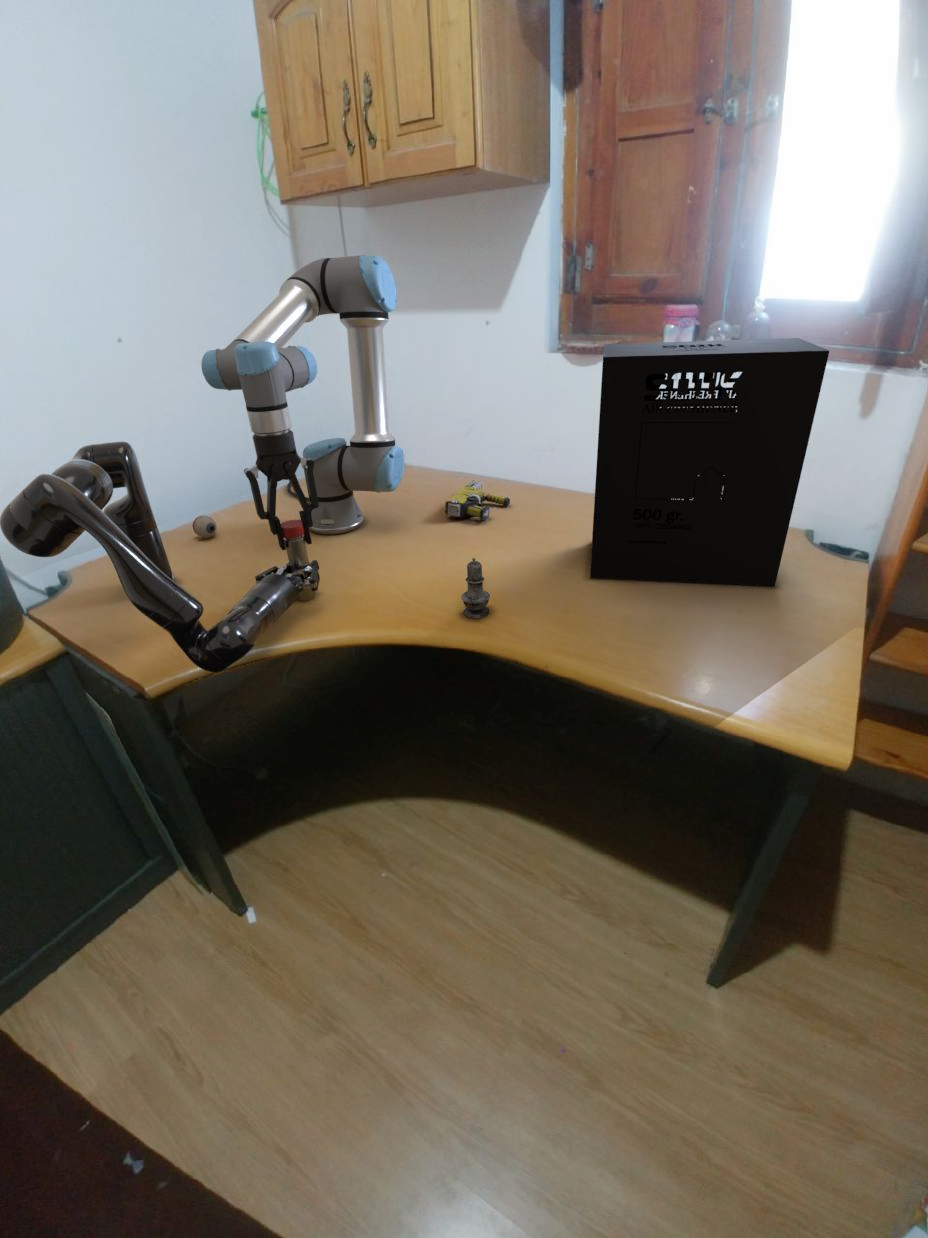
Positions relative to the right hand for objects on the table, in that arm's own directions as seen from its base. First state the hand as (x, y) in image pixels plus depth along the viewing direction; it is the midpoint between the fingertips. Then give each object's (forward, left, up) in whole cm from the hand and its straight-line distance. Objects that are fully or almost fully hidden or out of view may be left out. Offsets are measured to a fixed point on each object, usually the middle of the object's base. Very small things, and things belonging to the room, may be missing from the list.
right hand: (295, 544), depth 126 cm
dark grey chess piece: (+31, +24, -12) cm, 41 cm away
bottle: (0, 0, -12) cm, 12 cm away
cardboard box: (+43, +72, -12) cm, 84 cm away
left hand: (-2, +2, -6) cm, 6 cm away
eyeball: (-52, -6, -12) cm, 54 cm away
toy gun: (-17, +63, -12) cm, 66 cm away
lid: (0, 0, +4) cm, 4 cm away
